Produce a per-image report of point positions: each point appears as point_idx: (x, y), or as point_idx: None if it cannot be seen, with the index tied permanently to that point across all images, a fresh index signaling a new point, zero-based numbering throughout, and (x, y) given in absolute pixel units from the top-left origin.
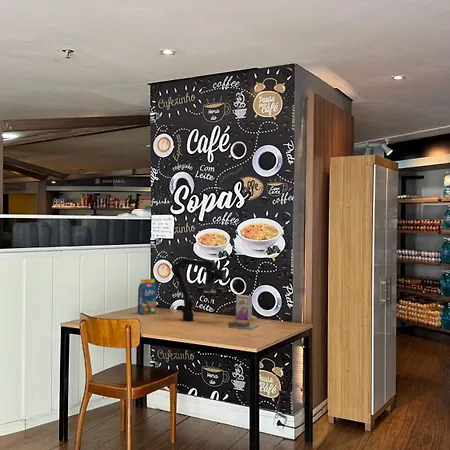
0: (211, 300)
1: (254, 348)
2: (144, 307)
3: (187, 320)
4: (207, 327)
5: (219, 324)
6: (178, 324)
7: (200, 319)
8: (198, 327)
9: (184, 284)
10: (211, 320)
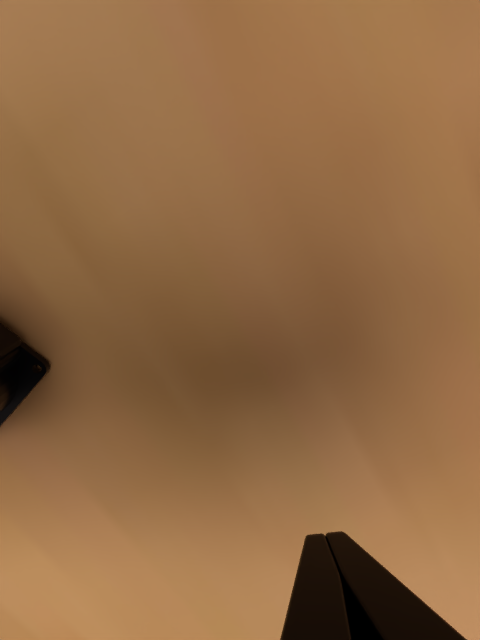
0: (390, 580)
1: None
2: None
3: (5, 418)
4: None
5: (434, 402)
6: (81, 610)
7: (30, 180)
8: None
9: None
10: (207, 172)
